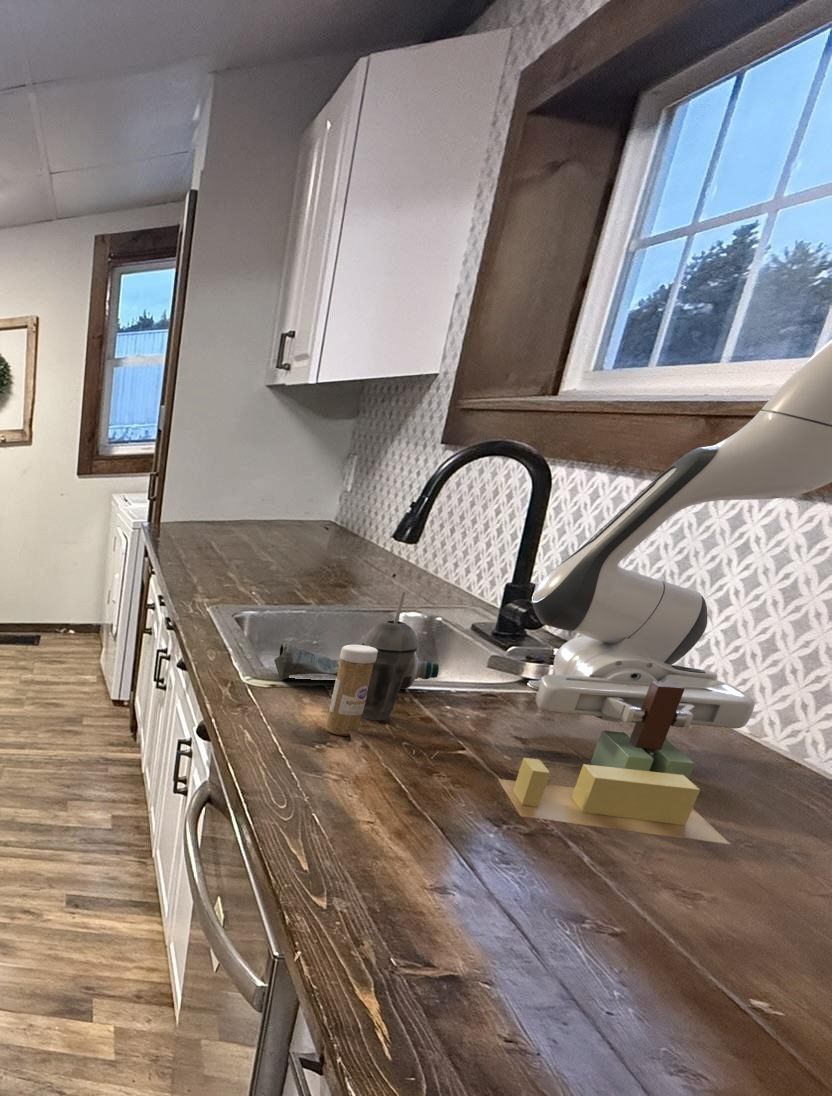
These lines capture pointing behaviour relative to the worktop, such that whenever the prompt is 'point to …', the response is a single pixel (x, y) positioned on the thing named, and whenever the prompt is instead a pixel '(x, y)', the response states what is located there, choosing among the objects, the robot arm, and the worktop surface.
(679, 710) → the robot arm
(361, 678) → the sprinkles bottle
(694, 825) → the butter board
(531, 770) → the butter slice
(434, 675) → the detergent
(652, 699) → the wood-handled putty knife
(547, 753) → the worktop surface
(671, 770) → the knife block
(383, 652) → the beverage cup
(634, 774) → the butter
